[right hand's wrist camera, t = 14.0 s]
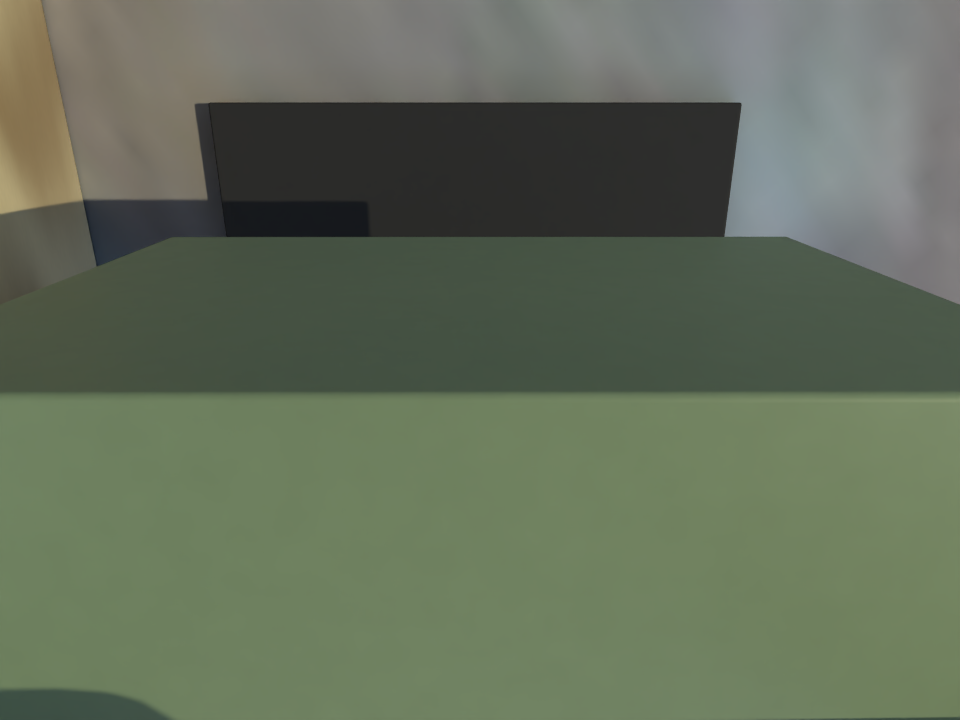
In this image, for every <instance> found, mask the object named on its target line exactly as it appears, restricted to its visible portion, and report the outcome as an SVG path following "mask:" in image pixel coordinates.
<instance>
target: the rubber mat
mask: <svg viewBox="0 0 960 720" xmlns="http://www.w3.org/2000/svg"><path fill="white" fill-rule="evenodd" d="M209 110H210V118H211V125H212V133H213V140H214V147H215V155H216V162H217V169H218V177H219V184H220V191H221V199H222V206H223V214H224V221H225V228H226V236H227V237H724V234H725V227H726V219H727V211H728V204H729V196H730V188H731V181H732V173H733V166H734V158H735V150H736V143H737V135H738V127H739V120H740V112H741V103H209Z"/></svg>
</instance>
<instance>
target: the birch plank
mask: <svg viewBox="0 0 960 720" xmlns="http://www.w3.org/2000/svg"><path fill="white" fill-rule="evenodd" d="M95 267H97V265H96V260H95V255H94V251H93V246H92V241H91V236H90V232H89V227H88V222H87V217H86V212H85V208H84V203H83V198H82V193H81V189H80V184H79V179H78V174H77V169H76V165H75V160H74V155H73V150H72V145H71V141H70V136H69V131H68V126H67V122H66V117H65V112H64V107H63V102H62V98H61V93H60V88H59V83H58V78H57V74H56V69H55V64H54V59H53V55H52V50H51V45H50V40H49V35H48V31H47V26H46V21H45V16H44V12H43V7H42V2H41V0H0V305H1V304H3V303H6V302H8V301H11V300H13V299H16V298H18V297H21V296H23V295H26V294H29V293H31V292H34V291H36V290H39V289H41V288H44V287H46V286H49V285H51V284H54V283H57V282H59V281H62V280H64V279H67V278H69V277H72V276H74V275H77V274H79V273H82V272H85V271H87V270H90V269H92V268H95Z"/></svg>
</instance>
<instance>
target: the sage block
mask: <svg viewBox="0 0 960 720" xmlns="http://www.w3.org/2000/svg"><path fill="white" fill-rule="evenodd" d="M0 720H960V305H959V304H956V303H954V302H951V301H949V300H946V299H943V298H941V297H938V296H936V295H933V294H931V293H928V292H926V291H923V290H920V289H918V288H915V287H913V286H910V285H908V284H905V283H903V282H900V281H897V280H895V279H892V278H890V277H887V276H885V275H882V274H880V273H877V272H874V271H872V270H869V269H867V268H864V267H862V266H859V265H857V264H854V263H851V262H849V261H846V260H844V259H841V258H839V257H836V256H834V255H831V254H828V253H826V252H823V251H821V250H818V249H816V248H813V247H811V246H808V245H806V244H803V243H800V242H798V241H795V240H793V239H790V238H788V237H171V238H169V239H166V240H163V241H161V242H158V243H156V244H153V245H151V246H148V247H146V248H143V249H141V250H138V251H135V252H133V253H130V254H128V255H125V256H123V257H120V258H118V259H115V260H113V261H110V262H107V263H105V264H102V265H100V266H97V267H95V268H92V269H90V270H87V271H85V272H82V273H79V274H77V275H74V276H72V277H69V278H67V279H64V280H62V281H59V282H57V283H54V284H51V285H49V286H46V287H44V288H41V289H39V290H36V291H34V292H31V293H29V294H26V295H23V296H21V297H18V298H16V299H13V300H11V301H8V302H6V303H3V304H1V305H0Z"/></svg>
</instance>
